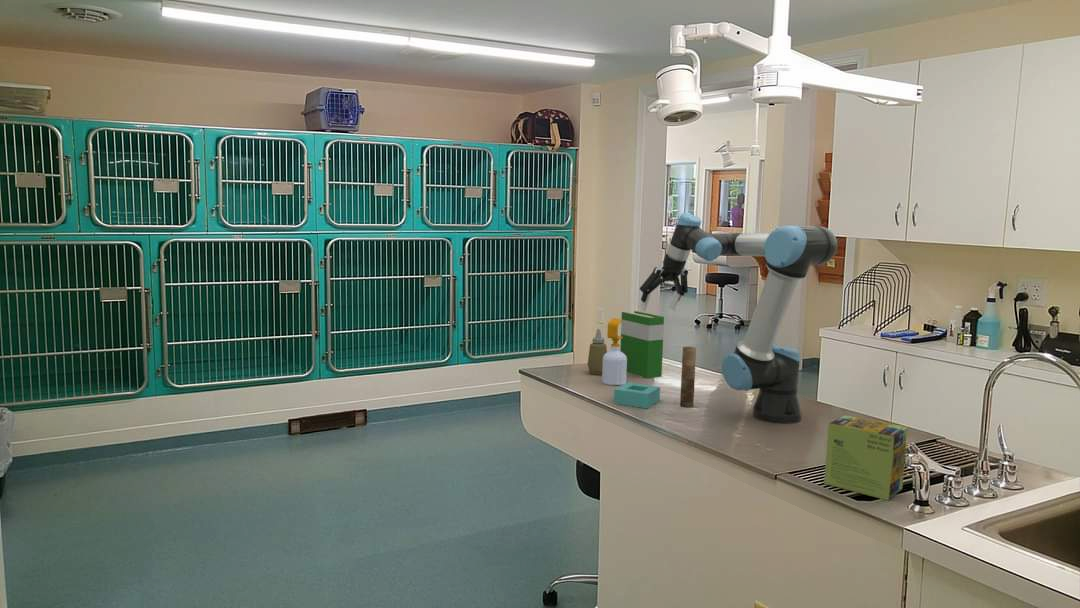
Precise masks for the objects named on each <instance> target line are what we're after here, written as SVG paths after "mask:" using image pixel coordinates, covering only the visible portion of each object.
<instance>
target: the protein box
mask: <svg viewBox="0 0 1080 608" xmlns="http://www.w3.org/2000/svg"><path fill="white" fill-rule="evenodd" d="M907 435H908V426H902V425H896V424H891V423H887V422H881V421H879V420H878V421H877V420H873V419H872V420H871V419H868V418H867V419H866V418H860V417H856V416H849V415H842V416H841V417H839V418H837V419H835V420H833V421H830V422H828V430H827V443H826V453H825V467H824V477H823V478H824V479H823V484H824V485H826V486H827V485H828V486H832V487H835V488H840V489H844V490H847V491H850V492H854V493H859V494H862V495H864V496H865V495H866V496H869V497H874V498H878V499H881V500H885V501H890V500H891V499H892V498H893V497H895V496H896V495H897V494H898V493H899V492H900V491H902V490H903V486H904V469H905V459H906V458H905V457H906V448H907V447H906V445H907V437H908V436H907Z"/></svg>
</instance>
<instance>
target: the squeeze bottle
mask: <svg viewBox="0 0 1080 608" xmlns="http://www.w3.org/2000/svg"><path fill="white" fill-rule="evenodd" d="M588 350H589V351H588V357H587V367H588V371H589V374H591V375H593V376H602V368H603V356H604V354H606V353H607V352H608V351H607V350H608V348H607V344H605V338H604V337H602V331H601V329H599V328H598V329H596V333H595V337H593V338H592V343H591V344H589V349H588Z"/></svg>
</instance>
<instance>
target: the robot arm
mask: <svg viewBox="0 0 1080 608" xmlns="http://www.w3.org/2000/svg"><path fill="white" fill-rule="evenodd" d="M701 223H702V220H701V218H700V217H699V216H696V215H694V214H691V213H685V212H684V213H682V214H681V215H680V216H679V217H678V219H677V221H676V225H675V228H674V231H673V234H672V236H671V240H670V242H669V244H668V247H667V251H666V253H665V255H664V257H663V261H662V265H663V266H662V268H658V267H657V266H655V267H654V268H653V270H652V273H651V274H650V275H649V276H648V277H647V279H646V280H645V281H644V282H643V284H642V285H640V287H639V290H640V291H641V292H642V295H641V298H640V304H639V307H638V308H639V309H641V311H642V312H645V311H646V309H647V306H648V303H649V301H650V298H651V296H652V295H651V293H652V292H653V291H654V290H656V289H657V288H658V287H659V286H660V285H661V284H664V283H665V282H673V284H674V287H675V291H674V292H673V295H672V298H671V300H670V302H669V306H668V308H669V309H671V310H672V311H675V310H676V307H677V306H678V303H679V302H680V300H681V297H682V296H683V297H684V296H685V294H687V293H688V291H689V289H688V288H689V287H688V274H689V271H688V270H687V269H686V268H685V266H686V263H687V260H688V258H689V255H690V252H691V251H692V252H694V253H695V254H696V255H697V256H698V257H699V258H701V259H703V260H705V262H713V261H714V260H717V258H719V257H720V256H732V257H733V256H734V257H735V256H736V257H737V256H739V257H741V256H743V257H764V258H765V260H766V263H765V267H766V268H767V270H768V274H767V276H766V279H765V282H764V284H763V287H762V290H761V293H760V295H759V298H758V301H757V304H756V306H755V309H754V312H753V314H752V317H751V320H750V322H749V324H748V325H749V326H748V328H747V330H746V334H745V336H744V338H743V340H740V341H738V342H737V344H736V346H735V349H734V352H730V353H729V354H727V355H725V356H724V358H723V359H722V362H721V371H722V372H721V373H722V375H723V379H724V381H725V382H726V384H727V385H728V386H729V387H730V388H731V389H732V390H735V391H740V392H742V391H743V392H744V391H746V392H747V391H751V390H756V389H758V393H757V397H756V399H755V401H754V404H753V405H752V411H751V413H752V414H751V415H752V416H753V417H754V418H756V419H758V420H761V421H764V422H769V423H770V422H771V423H778V424H779V423H781V424H792V423H798V422H800V421H801V420H802V408H801V405H800V401H799V397H798V387H799V386H798V385H799V373H800V364H801V363H800V353H799V350H797V349H795V348H792V347H787V346H782V345H777V344H775V342H776V339H777V336H778V334H779V331H780V329H781V326H782V323H783V321H784V319H785V316H786V313H787V310H788V309H789V306H790V303H791V300H792V297H793V296H794V295H793V294H794V293H795V290H796V287H797V286H798V285H797V284H798V282H799V281H801V280H804V279H805V278H806V277H807V274H808V271H809V269H810V268H811V267H815V266H816V267H817V266H823V265H825V264H827V263H829V262H831V260H832V259H833V258H834V257H835V255H836V253H837V250H838V240H837V236H836V235H835V234H834V232H832V231H831V230H830V229H829V228H827V227H825V226H820V225H795V224H792V225H791V224H789V225H786V226H785V225H783V226H779V227H777V228H774V229H773V230H772V231H771V232H761V233H760V232H757V233H755V232H754V233H753V232H751V233H750V232H747V233H745V232H744V233H742V232H741V233H740V232H734V233H733V232H732V233H731V232H729V233H722V232H721V233H718V232H717V233H713V232H711V233H708V232H706V231H705V230H703V229H702V228H701Z"/></svg>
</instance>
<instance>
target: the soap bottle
mask: <svg viewBox="0 0 1080 608" xmlns="http://www.w3.org/2000/svg"><path fill="white" fill-rule="evenodd" d="M621 322H622V319H621V318H616V317H615V318H612V319H611V320H609V321H608V323H607V338H608V339H611V341H612V343H611V344H610V350H609V351H607V353H606V354H604V356H603V368H602V375H601V376H602V377H601V379H602V380H601V382H602V383H603V384H604V385H608V386H613V385H618V386H622V385H624V384H626V383H627V373H628V372H627V357H626V355H625V354H624V353H622V352H621V351H620V347H621V343H620V344H619V343H618V342H619V341H620V340H621V338H622V337H621V335H620V336H619V335H618V333H619V330H618V329H619V325H620V324H621Z"/></svg>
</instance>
